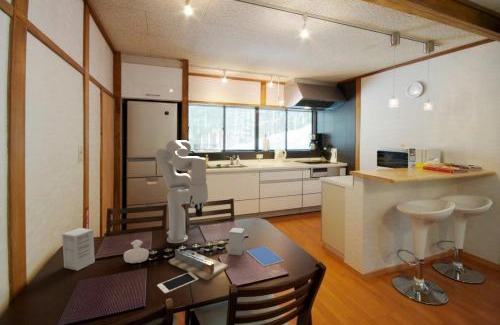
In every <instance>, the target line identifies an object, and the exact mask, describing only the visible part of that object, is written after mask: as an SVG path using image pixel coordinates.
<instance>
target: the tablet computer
mask: <svg viewBox="0 0 500 325" xmlns="http://www.w3.org/2000/svg"><path fill="white" fill-rule="evenodd" d="M246 253H247V254H248V255H249V256H251V257H252V258H254V259H255V261H257V263H259V264H260V265H261V266H262V267H268V266H272V265H276V263H277V264H281V263H284V262H285V261H284V259H283V258H281V257H280V256H279V255H277V254H276V253H274V252H273V251H272V250H270V248H268V247H267V246H260V247H256V248H251V249H247V250H246Z"/></svg>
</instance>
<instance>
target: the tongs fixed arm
mask: <svg viewBox="0 0 500 325" xmlns="http://www.w3.org/2000/svg"><path fill="white" fill-rule="evenodd" d="M174 253H175V254H174V255H175V256H174V258H175V259H176V260H178V261H180V262H183V263H185V264H187V265H190V266H192V267H194V268H197V269H199V270H201V271H204V272H206V273H208V274H212V264H210V263H208V262H204V261H202V260H199V259H197V258H194V257H192V256H189V255H187V254H184V253H182V252H181V249H180V248H175V249H174Z"/></svg>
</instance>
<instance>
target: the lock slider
mask: <svg viewBox="0 0 500 325" xmlns="http://www.w3.org/2000/svg"><path fill="white" fill-rule="evenodd" d="M183 251H184V252H187V253H189V254H192V255H195V253H196V252H195V251H193V250H190V249H186V250H183Z"/></svg>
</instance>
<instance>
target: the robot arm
mask: <svg viewBox="0 0 500 325" xmlns="http://www.w3.org/2000/svg"><path fill="white" fill-rule="evenodd" d="M191 150H192V147H191V143H190V142H189V141H188V140H183V139H181V140H178V139H177V140H176V139H175V140H169V141H168V142H167V143H166V145H165V147H161V148H159V149H157V150H156V151H155V162H156V164H157V166H158V168H159V169H160V171H161V173H162V176H163V180H164V183H165V186H166V188H167V189H169V191H168V193H167V194H166V199H167V202H168V203H167V204H168V216H169V217H168V223H169V224H168V228H169V229H168V231H166V234H167V235H168V237H167V238H166V242H167V243H169V244H180V243H184V242H186V241H188V239H189V236H188V235H187V234H186V210H185V208H184V207H183V206H182V205H185V204H189V206H190V207H192V208H194V210H195V216H196V217H202V216H203V209H204V206H205V204H207V203H208V199H209V190H208V184H207V180H208V179H207V159H206V158H205V157H201V156H197V155H195V156H189V154H190V152H191ZM177 170H178V171H180V172H184V171H185V172H188V171H190V172H191V176H190V175H189V174H188V173H178V171H177Z"/></svg>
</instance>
